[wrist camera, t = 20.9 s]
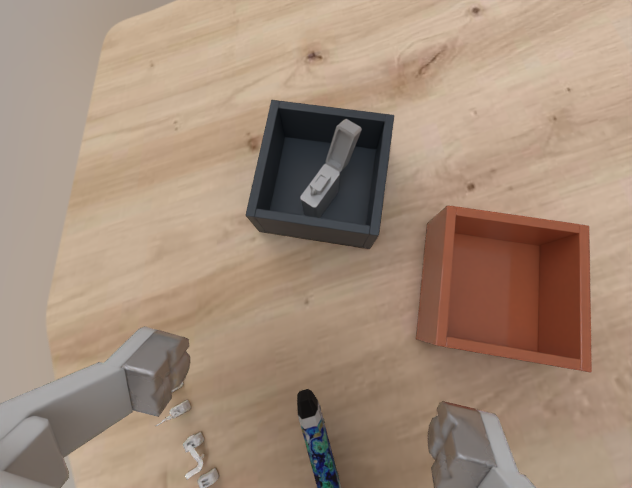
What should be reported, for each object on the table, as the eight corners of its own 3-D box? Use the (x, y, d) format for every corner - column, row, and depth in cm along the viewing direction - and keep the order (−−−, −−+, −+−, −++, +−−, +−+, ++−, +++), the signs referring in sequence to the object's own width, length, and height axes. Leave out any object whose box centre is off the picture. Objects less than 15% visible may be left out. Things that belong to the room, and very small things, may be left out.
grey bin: (383, 146, 34) (394, 114, 29) (370, 249, 32) (378, 235, 26) (280, 132, 35) (271, 99, 29) (259, 231, 32) (245, 215, 27)
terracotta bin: (543, 240, 31) (589, 225, 26) (542, 361, 29) (592, 372, 23) (426, 223, 32) (447, 205, 27) (415, 339, 30) (435, 345, 24)
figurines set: (232, 498, 27) (221, 519, 25) (202, 515, 27) (188, 538, 24) (179, 370, 30) (164, 375, 27) (152, 384, 30) (134, 392, 27)
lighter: (316, 222, 32) (313, 192, 24) (302, 213, 32) (295, 181, 24) (354, 168, 33) (363, 124, 25) (341, 160, 33) (345, 113, 25)
